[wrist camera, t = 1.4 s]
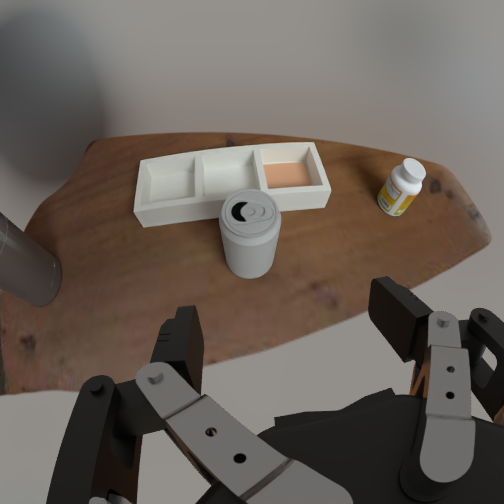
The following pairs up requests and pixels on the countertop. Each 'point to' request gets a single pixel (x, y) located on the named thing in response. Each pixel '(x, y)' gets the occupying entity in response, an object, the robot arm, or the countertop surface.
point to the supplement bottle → (401, 187)
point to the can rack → (228, 181)
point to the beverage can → (249, 232)
